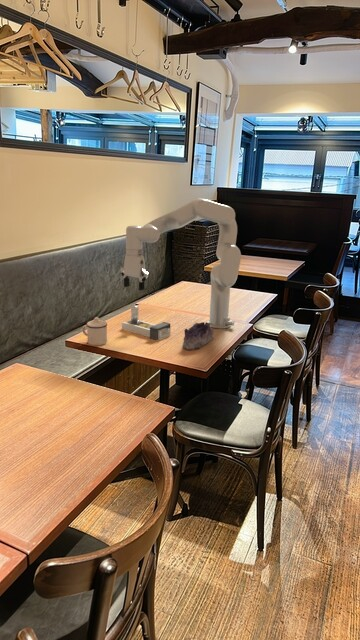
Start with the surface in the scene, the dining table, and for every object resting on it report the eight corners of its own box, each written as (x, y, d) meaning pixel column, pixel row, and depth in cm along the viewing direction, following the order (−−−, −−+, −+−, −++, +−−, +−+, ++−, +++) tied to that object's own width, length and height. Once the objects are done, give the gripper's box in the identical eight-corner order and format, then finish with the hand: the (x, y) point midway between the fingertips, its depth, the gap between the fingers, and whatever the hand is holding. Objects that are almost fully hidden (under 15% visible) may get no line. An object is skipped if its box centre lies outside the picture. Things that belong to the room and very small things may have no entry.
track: (171, 334, 216) (172, 324, 215) (158, 340, 208) (158, 329, 207) (134, 324, 230) (134, 314, 228) (120, 329, 222) (119, 318, 220)
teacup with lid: (111, 340, 207) (110, 316, 203) (101, 347, 199) (100, 322, 195) (88, 336, 211) (87, 313, 207) (77, 343, 203) (76, 318, 199)
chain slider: (148, 327, 220) (149, 307, 217) (142, 329, 217) (142, 310, 214) (133, 323, 226) (133, 304, 223) (127, 325, 222) (126, 306, 219)
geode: (201, 353, 195) (199, 331, 192) (177, 352, 200) (175, 331, 197) (218, 337, 213) (216, 317, 210) (195, 336, 218) (193, 316, 215)
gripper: (153, 254, 210) (152, 290, 215) (126, 249, 219) (126, 284, 225) (142, 256, 204) (142, 292, 209) (115, 251, 214) (115, 286, 219)
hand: (134, 288), depth 217 cm, fingers open, 9 cm apart
